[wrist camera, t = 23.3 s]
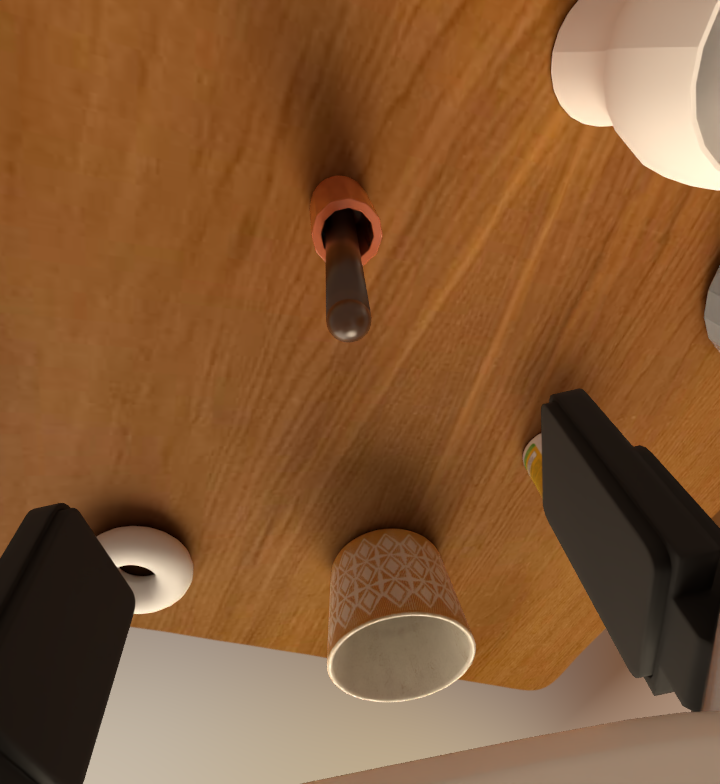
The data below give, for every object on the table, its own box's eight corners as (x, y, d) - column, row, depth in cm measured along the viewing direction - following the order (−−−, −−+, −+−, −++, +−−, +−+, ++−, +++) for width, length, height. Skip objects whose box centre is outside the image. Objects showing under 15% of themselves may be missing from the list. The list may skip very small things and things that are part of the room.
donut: (116, 500, 47) (64, 567, 50) (105, 529, 44) (50, 598, 47) (216, 545, 51) (162, 604, 54) (212, 574, 48) (154, 635, 51)
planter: (350, 504, 49) (362, 601, 40) (469, 533, 53) (503, 628, 44) (304, 591, 55) (305, 693, 46) (414, 612, 59) (434, 710, 50)
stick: (322, 201, 34) (321, 313, 20) (349, 195, 34) (368, 304, 20) (328, 228, 35) (332, 354, 21) (355, 223, 35) (376, 345, 21)
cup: (640, 171, 36) (826, 232, 23) (498, 121, 33) (620, 160, 21) (739, -19, 31) (1048, -74, 18) (580, -94, 28) (809, -217, 16)
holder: (303, 182, 34) (304, 208, 28) (361, 169, 34) (374, 192, 28) (317, 240, 36) (321, 275, 30) (372, 227, 36) (387, 260, 30)
